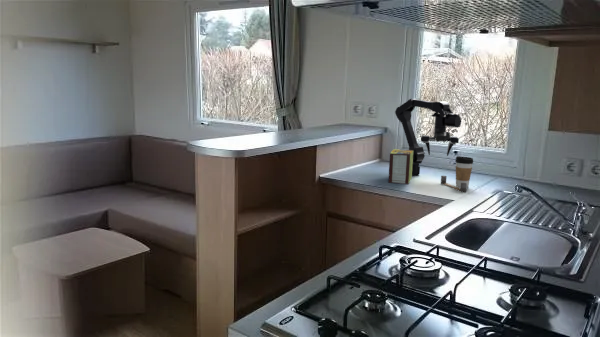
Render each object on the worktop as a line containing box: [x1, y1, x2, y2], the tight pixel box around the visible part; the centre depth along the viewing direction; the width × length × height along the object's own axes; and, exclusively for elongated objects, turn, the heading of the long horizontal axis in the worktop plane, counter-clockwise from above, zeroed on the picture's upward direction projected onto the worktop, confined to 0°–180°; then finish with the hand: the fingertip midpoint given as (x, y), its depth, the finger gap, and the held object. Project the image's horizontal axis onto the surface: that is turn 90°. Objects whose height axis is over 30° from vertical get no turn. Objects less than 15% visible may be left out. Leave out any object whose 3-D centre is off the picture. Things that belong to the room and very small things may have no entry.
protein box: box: [388, 148, 413, 185], centre depth 241 cm, size 10×15×16 cm
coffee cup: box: [455, 155, 474, 189], centre depth 230 cm, size 8×8×15 cm
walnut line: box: [440, 175, 467, 193], centre depth 228 cm, size 20×3×4 cm, turn 15°
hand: (438, 155), depth 244 cm, fingers open, 9 cm apart
